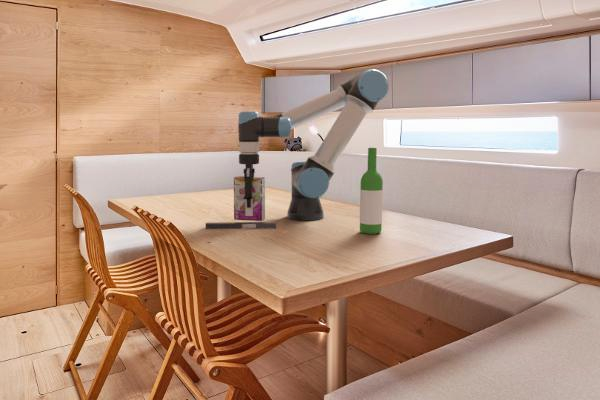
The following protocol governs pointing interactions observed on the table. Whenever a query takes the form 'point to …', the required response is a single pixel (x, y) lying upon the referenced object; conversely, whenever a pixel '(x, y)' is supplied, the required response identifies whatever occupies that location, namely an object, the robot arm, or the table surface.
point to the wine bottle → (371, 197)
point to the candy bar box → (257, 197)
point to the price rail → (240, 225)
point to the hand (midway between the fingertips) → (249, 214)
